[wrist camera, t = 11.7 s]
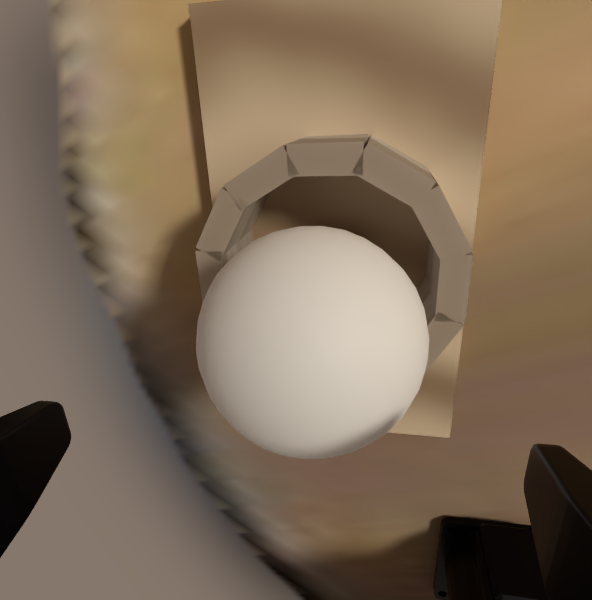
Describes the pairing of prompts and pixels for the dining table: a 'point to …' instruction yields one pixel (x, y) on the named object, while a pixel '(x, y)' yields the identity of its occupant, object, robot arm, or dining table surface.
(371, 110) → the lamp base
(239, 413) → the lightbulb
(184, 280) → the dining table surface
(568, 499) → the robot arm
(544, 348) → the dining table surface
